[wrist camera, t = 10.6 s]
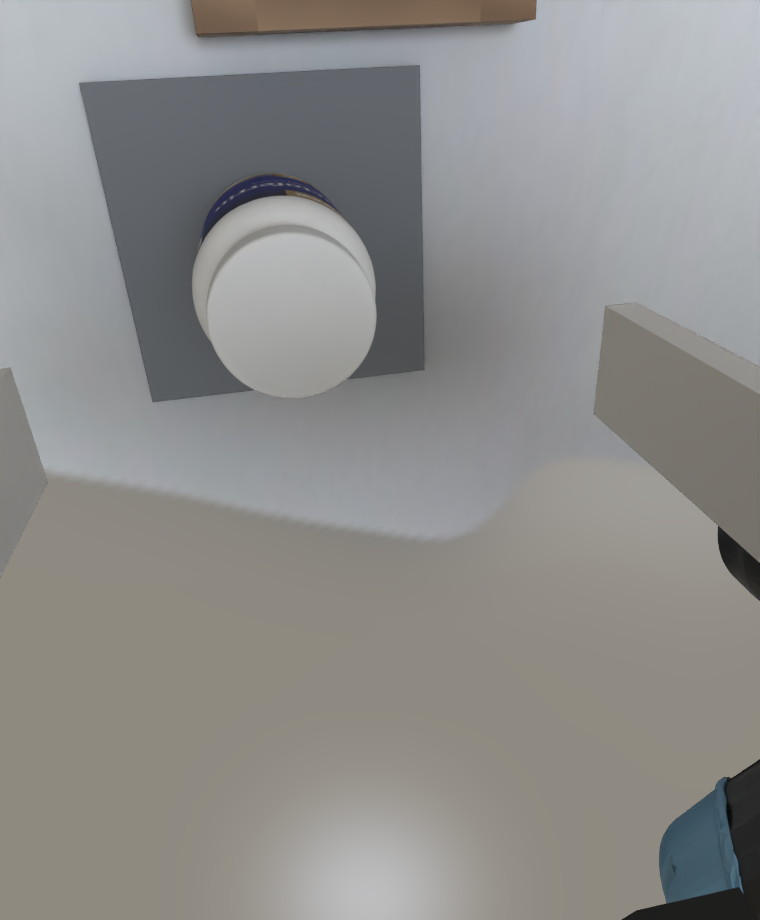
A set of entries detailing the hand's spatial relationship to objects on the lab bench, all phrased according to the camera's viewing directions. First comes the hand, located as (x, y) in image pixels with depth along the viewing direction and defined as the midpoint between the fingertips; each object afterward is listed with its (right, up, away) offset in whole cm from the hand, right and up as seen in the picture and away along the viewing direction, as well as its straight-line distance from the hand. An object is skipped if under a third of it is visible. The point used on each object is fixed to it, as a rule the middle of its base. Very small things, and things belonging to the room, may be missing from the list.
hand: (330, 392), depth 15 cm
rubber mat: (-3, +7, +12) cm, 15 cm away
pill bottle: (-3, +7, +12) cm, 14 cm away
